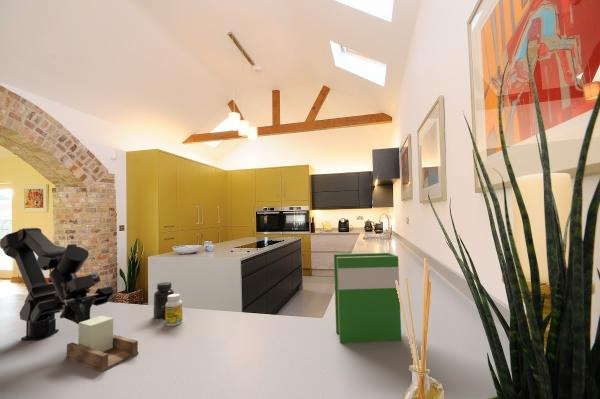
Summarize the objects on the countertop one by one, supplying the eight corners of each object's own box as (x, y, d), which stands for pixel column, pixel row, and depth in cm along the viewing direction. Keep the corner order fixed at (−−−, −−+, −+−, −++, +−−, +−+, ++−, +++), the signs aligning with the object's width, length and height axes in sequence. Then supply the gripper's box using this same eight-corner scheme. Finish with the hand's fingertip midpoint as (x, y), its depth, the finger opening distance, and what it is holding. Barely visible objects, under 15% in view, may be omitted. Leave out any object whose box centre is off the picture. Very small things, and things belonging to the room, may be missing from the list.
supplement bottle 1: (165, 320, 99) (165, 286, 100) (149, 319, 100) (149, 285, 101) (177, 313, 106) (177, 281, 106) (162, 312, 107) (162, 281, 108)
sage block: (78, 353, 74) (78, 322, 75) (100, 344, 79) (101, 315, 80) (90, 357, 72) (90, 325, 72) (112, 347, 77) (113, 318, 77)
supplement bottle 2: (183, 319, 99) (183, 292, 100) (180, 325, 94) (180, 296, 94) (167, 321, 98) (167, 293, 99) (163, 327, 93) (163, 298, 93)
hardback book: (340, 343, 79) (337, 258, 80) (336, 332, 86) (333, 254, 87) (401, 340, 79) (398, 256, 80) (392, 330, 87) (389, 252, 88)
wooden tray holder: (65, 358, 73) (66, 344, 74) (102, 343, 82) (103, 331, 82) (101, 372, 67) (102, 356, 67) (138, 354, 75) (138, 340, 75)
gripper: (36, 271, 72) (58, 321, 67) (111, 260, 89) (133, 298, 84) (21, 299, 75) (41, 348, 70) (96, 283, 92) (117, 321, 87)
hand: (87, 326), depth 77 cm, fingers closed
